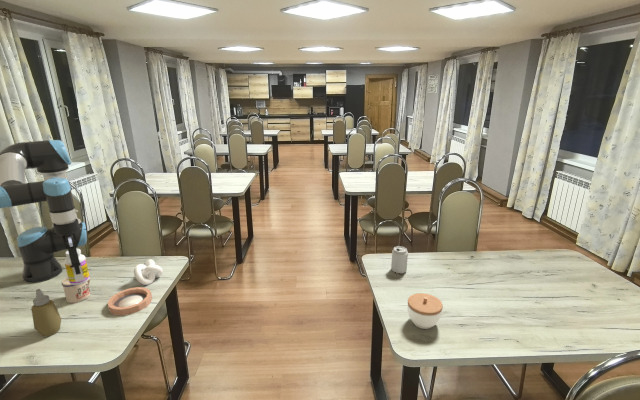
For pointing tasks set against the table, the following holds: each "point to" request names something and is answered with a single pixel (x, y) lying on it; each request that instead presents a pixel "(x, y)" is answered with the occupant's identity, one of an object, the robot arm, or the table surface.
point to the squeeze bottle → (45, 315)
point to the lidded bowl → (424, 310)
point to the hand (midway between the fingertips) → (79, 276)
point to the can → (399, 259)
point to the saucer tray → (130, 301)
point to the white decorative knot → (147, 272)
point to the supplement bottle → (70, 270)
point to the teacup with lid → (76, 291)
